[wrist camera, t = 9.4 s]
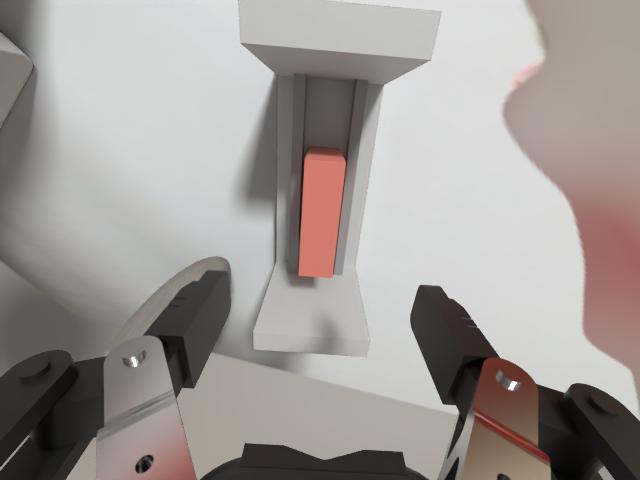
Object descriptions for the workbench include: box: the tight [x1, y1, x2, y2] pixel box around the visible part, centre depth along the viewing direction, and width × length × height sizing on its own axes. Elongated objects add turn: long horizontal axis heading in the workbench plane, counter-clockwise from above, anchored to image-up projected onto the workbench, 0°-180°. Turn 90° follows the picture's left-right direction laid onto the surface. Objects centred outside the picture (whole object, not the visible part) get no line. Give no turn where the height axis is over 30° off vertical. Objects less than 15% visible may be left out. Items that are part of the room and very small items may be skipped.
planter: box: [103, 257, 231, 357], centre depth 28 cm, size 18×7×19 cm, turn 136°
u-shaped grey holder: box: [238, 0, 442, 357], centre depth 24 cm, size 24×10×14 cm, turn 176°
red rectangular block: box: [299, 146, 346, 278], centre depth 25 cm, size 10×3×9 cm, turn 175°
